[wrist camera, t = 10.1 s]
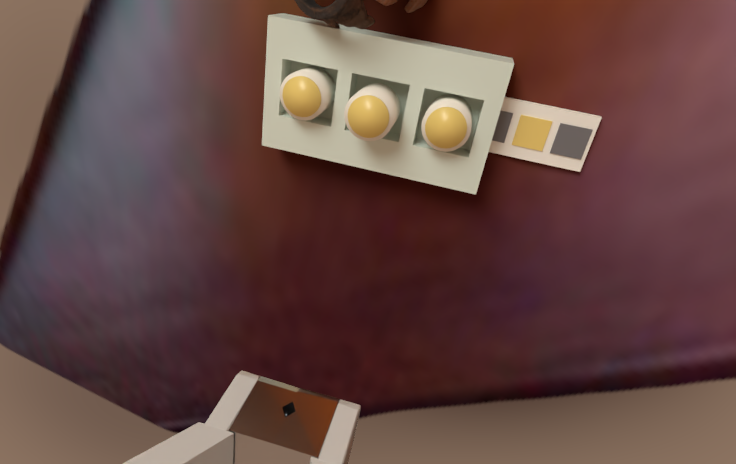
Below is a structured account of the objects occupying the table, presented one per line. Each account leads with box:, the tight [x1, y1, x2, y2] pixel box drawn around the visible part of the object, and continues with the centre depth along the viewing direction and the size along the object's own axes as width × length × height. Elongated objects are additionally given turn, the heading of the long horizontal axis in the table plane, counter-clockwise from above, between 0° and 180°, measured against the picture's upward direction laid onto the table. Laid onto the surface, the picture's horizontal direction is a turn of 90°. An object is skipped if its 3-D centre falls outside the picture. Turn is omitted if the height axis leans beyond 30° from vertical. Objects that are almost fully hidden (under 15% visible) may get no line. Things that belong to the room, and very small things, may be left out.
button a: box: [421, 94, 472, 152], centre depth 36 cm, size 4×4×3 cm
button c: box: [280, 66, 336, 120], centre depth 37 cm, size 4×4×3 cm
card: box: [489, 97, 602, 172], centre depth 37 cm, size 9×4×1 cm, turn 80°
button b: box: [344, 83, 400, 141], centre depth 35 cm, size 4×4×3 cm
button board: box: [262, 13, 514, 195], centre depth 37 cm, size 18×10×3 cm, turn 80°
